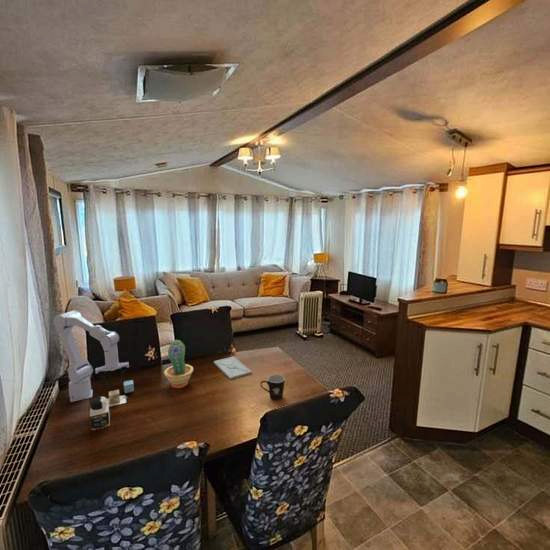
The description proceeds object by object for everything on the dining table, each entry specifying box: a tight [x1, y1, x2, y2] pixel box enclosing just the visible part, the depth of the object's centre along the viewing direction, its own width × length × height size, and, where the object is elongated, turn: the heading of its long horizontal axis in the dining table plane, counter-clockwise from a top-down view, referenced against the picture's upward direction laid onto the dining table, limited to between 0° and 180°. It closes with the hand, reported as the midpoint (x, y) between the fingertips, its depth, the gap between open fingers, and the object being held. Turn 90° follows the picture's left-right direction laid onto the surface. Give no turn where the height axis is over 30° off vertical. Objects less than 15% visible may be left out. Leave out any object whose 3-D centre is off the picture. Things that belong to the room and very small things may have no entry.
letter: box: [106, 394, 128, 408], centre depth 159 cm, size 11×8×1 cm
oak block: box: [108, 389, 120, 404], centre depth 158 cm, size 4×4×4 cm
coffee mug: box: [260, 374, 286, 401], centre depth 163 cm, size 12×9×10 cm
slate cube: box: [123, 379, 135, 394], centre depth 169 cm, size 4×4×4 cm
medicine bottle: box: [89, 396, 111, 431], centre depth 140 cm, size 7×7×12 cm
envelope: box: [213, 355, 253, 381], centre depth 194 cm, size 24×2×14 cm
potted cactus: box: [163, 339, 194, 389], centre depth 174 cm, size 15×15×25 cm
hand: (113, 383), depth 158 cm, fingers open, 7 cm apart
